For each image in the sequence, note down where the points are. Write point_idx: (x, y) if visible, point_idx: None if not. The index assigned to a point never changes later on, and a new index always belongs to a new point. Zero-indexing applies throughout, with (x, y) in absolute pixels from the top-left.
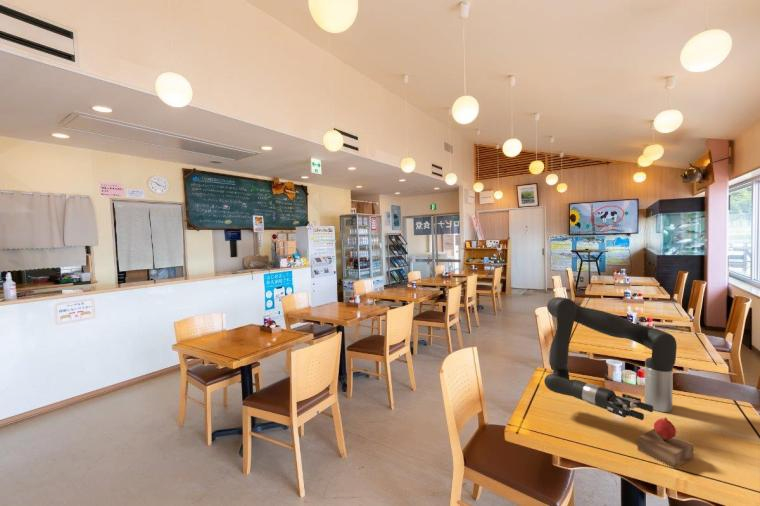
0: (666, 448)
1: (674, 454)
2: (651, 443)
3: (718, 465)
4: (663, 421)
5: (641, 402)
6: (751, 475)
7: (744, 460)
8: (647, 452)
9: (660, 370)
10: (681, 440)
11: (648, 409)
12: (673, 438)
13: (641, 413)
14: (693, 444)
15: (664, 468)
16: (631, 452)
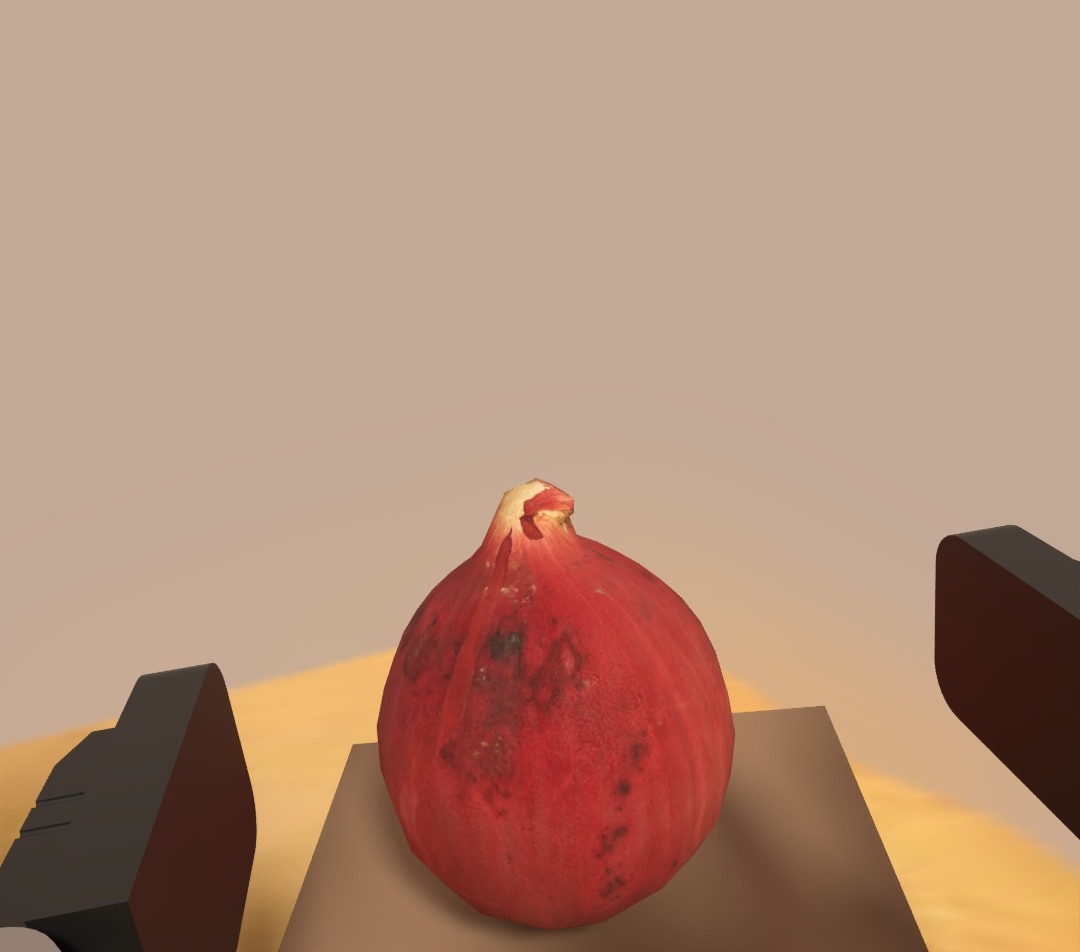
0: (814, 782)
1: (824, 717)
2: (917, 942)
3: (320, 790)
4: (601, 553)
5: (54, 904)
6: (287, 681)
7: (39, 766)
8: None
9: None
10: (365, 825)
11: (229, 847)
12: (400, 882)
13: (999, 537)
14: (353, 746)
15: (954, 925)
16: None
